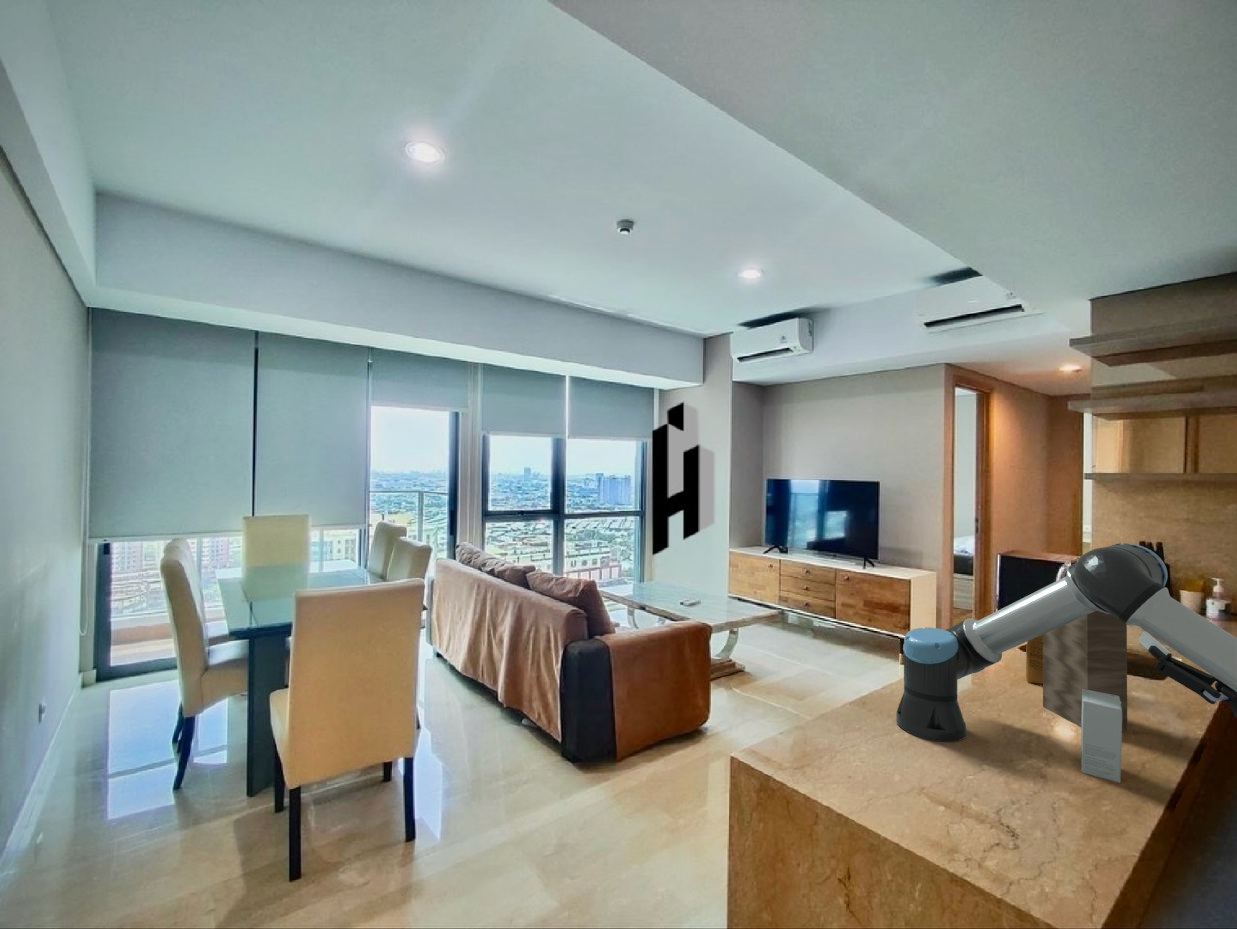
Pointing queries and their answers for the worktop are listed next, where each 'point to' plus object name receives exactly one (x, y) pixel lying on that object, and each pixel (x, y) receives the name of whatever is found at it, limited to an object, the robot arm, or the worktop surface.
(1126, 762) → the worktop surface
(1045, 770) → the worktop surface
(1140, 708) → the worktop surface
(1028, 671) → the brown bottle
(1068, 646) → the walnut stand
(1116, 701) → the skincare box
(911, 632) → the robot arm
